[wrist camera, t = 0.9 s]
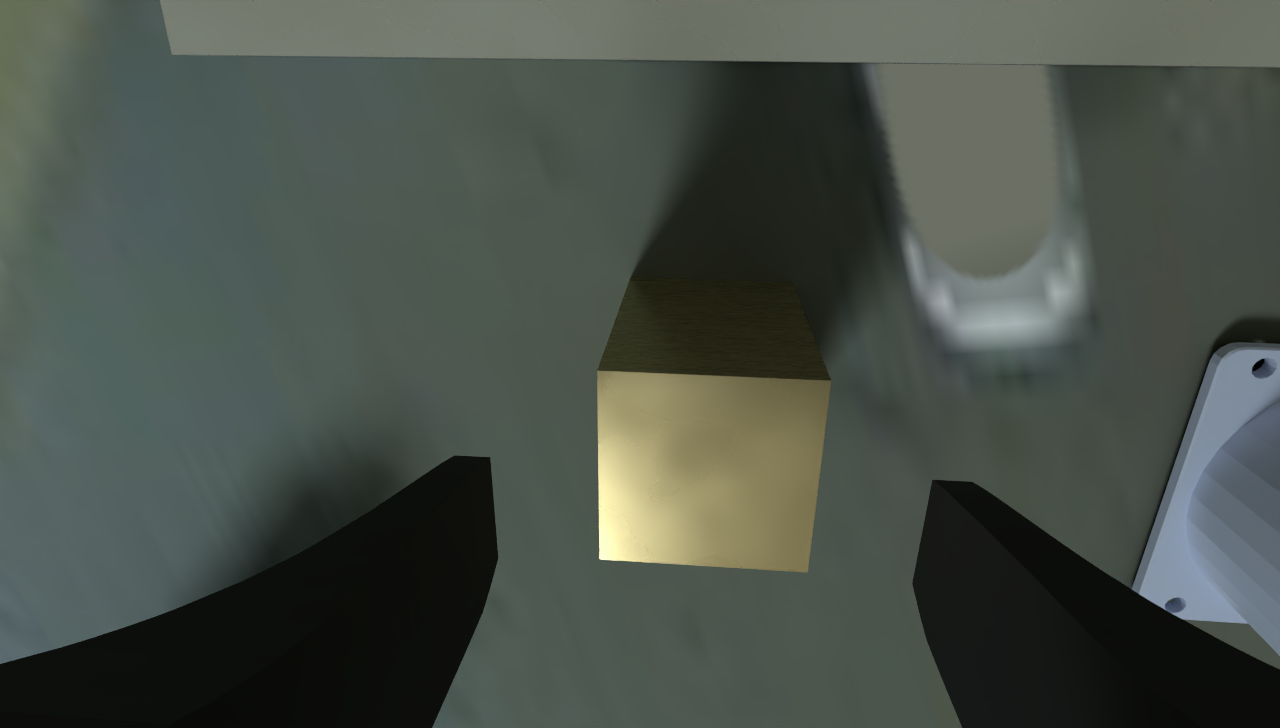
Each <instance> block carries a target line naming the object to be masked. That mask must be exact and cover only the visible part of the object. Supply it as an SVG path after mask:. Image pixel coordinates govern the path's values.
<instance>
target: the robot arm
mask: <svg viewBox="0 0 1280 728" xmlns="http://www.w3.org/2000/svg"><path fill="white" fill-rule="evenodd" d="M1264 358H1265V360H1264V364H1263V365H1262V366H1261V368H1259V369H1258V370H1256V371H1253V372H1252V367H1253V366H1254V364H1255V363H1256V362H1257V361H1259V360H1261V359H1264ZM497 561H498V550H497V537H496V525H495V512H494V500H493V487H492V475H491V462H490V457H472V456H453V457H451V458H450V459H448V460H446V461H444V462H443V463H441V464H440V465H438V466H437V467H435V468H434V469H432V470H431V471H429V472H428V473H426V474H425V475H423V476H422V477H420V478H419V479H417V480H416V481H414V482H413V483H411V484H410V485H408V486H407V487H406V488H404V489H403V490H401V491H400V492H398V493H397V494H395V495H394V496H392V497H391V498H389V499H388V500H386V501H385V502H383V503H382V504H380V505H379V506H377V507H376V508H374V509H373V510H371V511H369V512H368V513H366V514H365V515H363V516H361V517H360V518H358V519H356V520H355V521H353V522H351V523H350V524H348V525H347V526H345V527H343V528H342V529H340V530H338V531H337V532H335V533H333V534H332V535H330V536H328V537H327V538H325V539H323V540H322V541H320V542H318V543H317V544H315V545H313V546H311V547H310V548H308V549H306V550H304V551H302V552H300V553H298V554H297V555H295V556H293V557H291V558H289V559H287V560H285V561H283V562H281V563H279V564H277V565H275V566H273V567H271V568H269V569H267V570H265V571H263V572H261V573H259V574H257V575H255V576H253V577H250V578H248V579H246V580H244V581H242V582H240V583H237V584H235V585H232V586H230V587H228V588H225V589H223V590H220V591H218V592H216V593H213V594H211V595H208V596H206V597H204V598H201V599H199V600H196V601H194V602H192V603H189V604H187V605H184V606H182V607H180V608H177V609H175V610H172V611H169V612H167V613H164V614H161V615H158V616H156V617H153V618H150V619H147V620H145V621H142V622H139V623H136V624H133V625H131V626H128V627H124V628H121V629H118V630H115V631H112V632H109V633H106V634H103V635H100V636H97V637H94V638H91V639H88V640H85V641H81V642H78V643H75V644H71V645H68V646H65V647H61V648H58V649H54V650H50V651H47V652H43V653H39V654H36V655H32V656H28V657H25V658H21V659H17V660H14V661H10V662H6V663H3V664H0V728H432V727H433V724H434V722H435V720H436V718H437V715H438V713H439V711H440V709H441V706H442V704H443V702H444V699H445V697H446V695H447V693H448V690H449V688H450V686H451V684H452V681H453V679H454V677H455V675H456V672H457V670H458V668H459V666H460V663H461V661H462V659H463V657H464V654H465V652H466V650H467V647H468V645H469V643H470V641H471V638H472V636H473V634H474V631H475V629H476V627H477V624H478V622H479V620H480V617H481V615H482V613H483V610H484V606H485V603H486V600H487V596H488V593H489V590H490V586H491V583H492V579H493V575H494V572H495V568H496V564H497ZM912 584H913V588H914V592H915V596H916V601H917V605H918V609H919V613H920V617H921V621H922V624H923V628H924V632H925V635H926V639H927V642H928V645H929V647H930V650H931V652H932V655H933V657H934V660H935V662H936V665H937V667H938V670H939V672H940V675H941V677H942V680H943V682H944V685H945V687H946V689H947V692H948V694H949V697H950V699H951V701H952V704H953V706H954V709H955V711H956V714H957V716H958V718H959V721H960V723H961V726H962V728H1280V670H1279V669H1277V668H1275V667H1273V666H1271V665H1269V664H1267V663H1264V662H1262V661H1260V660H1258V659H1256V658H1254V657H1252V656H1250V655H1248V654H1246V653H1244V652H1242V651H1240V650H1238V649H1236V648H1234V647H1232V646H1230V645H1228V644H1227V643H1225V642H1223V641H1221V640H1219V639H1217V638H1215V637H1214V636H1212V635H1210V634H1208V633H1206V632H1204V631H1203V630H1201V629H1199V628H1197V627H1195V626H1193V625H1192V624H1190V623H1188V622H1186V621H1184V620H1182V619H1185V620H1201V621H1216V622H1231V623H1246V624H1249V625H1250V626H1251V627H1252V628H1253V629H1254V630H1255V631H1256V632H1257V633H1258V634H1259V635H1260V636H1261V637H1262V638H1263V639H1264V640H1265V641H1266V642H1267V643H1268V644H1269V645H1270V646H1271V647H1272V648H1273V649H1274V650H1275V651H1276V652H1277V653H1278V654H1279V655H1280V344H1272V343H1246V342H1237V343H1229V344H1227V345H1225V346H1223V347H1221V348H1220V349H1219V350H1217V351H1216V352H1215V353H1214V354H1213V356H1212V358H1211V360H1210V362H1209V364H1208V367H1207V370H1206V373H1205V376H1204V379H1203V382H1202V385H1201V388H1200V391H1199V394H1198V397H1197V400H1196V403H1195V405H1194V408H1193V411H1192V414H1191V417H1190V420H1189V423H1188V426H1187V429H1186V432H1185V435H1184V438H1183V441H1182V444H1181V446H1180V449H1179V452H1178V455H1177V458H1176V461H1175V464H1174V467H1173V470H1172V473H1171V476H1170V479H1169V482H1168V485H1167V487H1166V490H1165V493H1164V496H1163V499H1162V502H1161V505H1160V508H1159V511H1158V514H1157V517H1156V520H1155V523H1154V526H1153V528H1152V531H1151V534H1150V537H1149V540H1148V543H1147V546H1146V549H1145V552H1144V555H1143V558H1142V561H1141V564H1140V566H1139V569H1138V572H1137V575H1136V578H1135V581H1134V584H1133V587H1132V589H1130V588H1129V587H1127V586H1125V585H1124V584H1122V583H1121V582H1119V581H1117V580H1116V579H1114V578H1113V577H1111V576H1109V575H1108V574H1106V573H1105V572H1103V571H1102V570H1100V569H1099V568H1097V567H1096V566H1094V565H1093V564H1091V563H1090V562H1088V561H1087V560H1085V559H1084V558H1082V557H1081V556H1079V555H1078V554H1076V553H1075V552H1073V551H1072V550H1070V549H1069V548H1068V547H1066V546H1065V545H1063V544H1062V543H1060V542H1059V541H1058V540H1056V539H1055V538H1053V537H1052V536H1050V535H1049V534H1048V533H1046V532H1045V531H1043V530H1042V529H1041V528H1039V527H1038V526H1036V525H1035V524H1033V523H1032V522H1031V521H1029V520H1028V519H1026V518H1025V517H1024V516H1022V515H1021V514H1019V513H1018V512H1017V511H1015V510H1014V509H1012V508H1011V507H1010V506H1008V505H1007V504H1005V503H1004V502H1002V501H1001V500H1000V499H998V498H997V497H995V496H994V495H992V494H991V493H989V492H988V491H986V490H985V489H983V488H982V487H980V486H978V485H976V484H975V483H973V482H964V481H944V480H932V485H931V491H930V496H929V501H928V506H927V511H926V516H925V521H924V526H923V532H922V537H921V542H920V547H919V552H918V557H917V562H916V568H915V573H914V578H913V583H912ZM1172 598H1175V599H1174V600H1173V601H1171V602H1168V603H1167V601H1168V600H1170V599H1172Z"/></svg>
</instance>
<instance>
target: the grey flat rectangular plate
mask: <svg viewBox="0 0 1280 728" xmlns="http://www.w3.org/2000/svg"><path fill="white" fill-rule="evenodd" d="M160 2H161V7H162V11H163V16H164V21H165V25H166V30H167V34H168V39H169V43H170V48H171V52H172V55H214V56H280V57H370V58H459V59H548V60H637V61H727V62H816V63H905V64H908V63H909V64H995V65H999V64H1000V65H1084V66H1173V67H1280V0H160Z"/></svg>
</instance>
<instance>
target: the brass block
mask: <svg viewBox="0 0 1280 728" xmlns="http://www.w3.org/2000/svg"><path fill="white" fill-rule="evenodd" d="M830 387H831V379H830V376H829V374H828V371H827V369H826V366H825V364H824V361H823V359H822V356H821V354H820V351H819V349H818V346H817V344H816V341H815V339H814V336H813V333H812V331H811V328H810V326H809V323H808V321H807V318H806V316H805V313H804V311H803V308H802V306H801V303H800V301H799V298H798V296H797V293H796V291H795V288H794V286H793V283H784V282H754V281H725V280H695V279H665V278H635V277H631V278H630V280H629V283H628V286H627V289H626V292H625V294H624V297H623V300H622V303H621V306H620V308H619V311H618V314H617V317H616V320H615V322H614V325H613V328H612V331H611V333H610V336H609V339H608V342H607V345H606V347H605V350H604V353H603V356H602V359H601V361H600V364H599V367H598V370H597V392H598V468H599V544H600V559H604V560H620V561H635V562H651V563H667V564H683V565H699V566H714V567H730V568H746V569H762V570H778V571H794V572H808V565H809V557H810V549H811V541H812V533H813V525H814V517H815V508H816V500H817V492H818V484H819V476H820V468H821V460H822V452H823V444H824V436H825V427H826V419H827V411H828V403H829V395H830Z"/></svg>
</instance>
